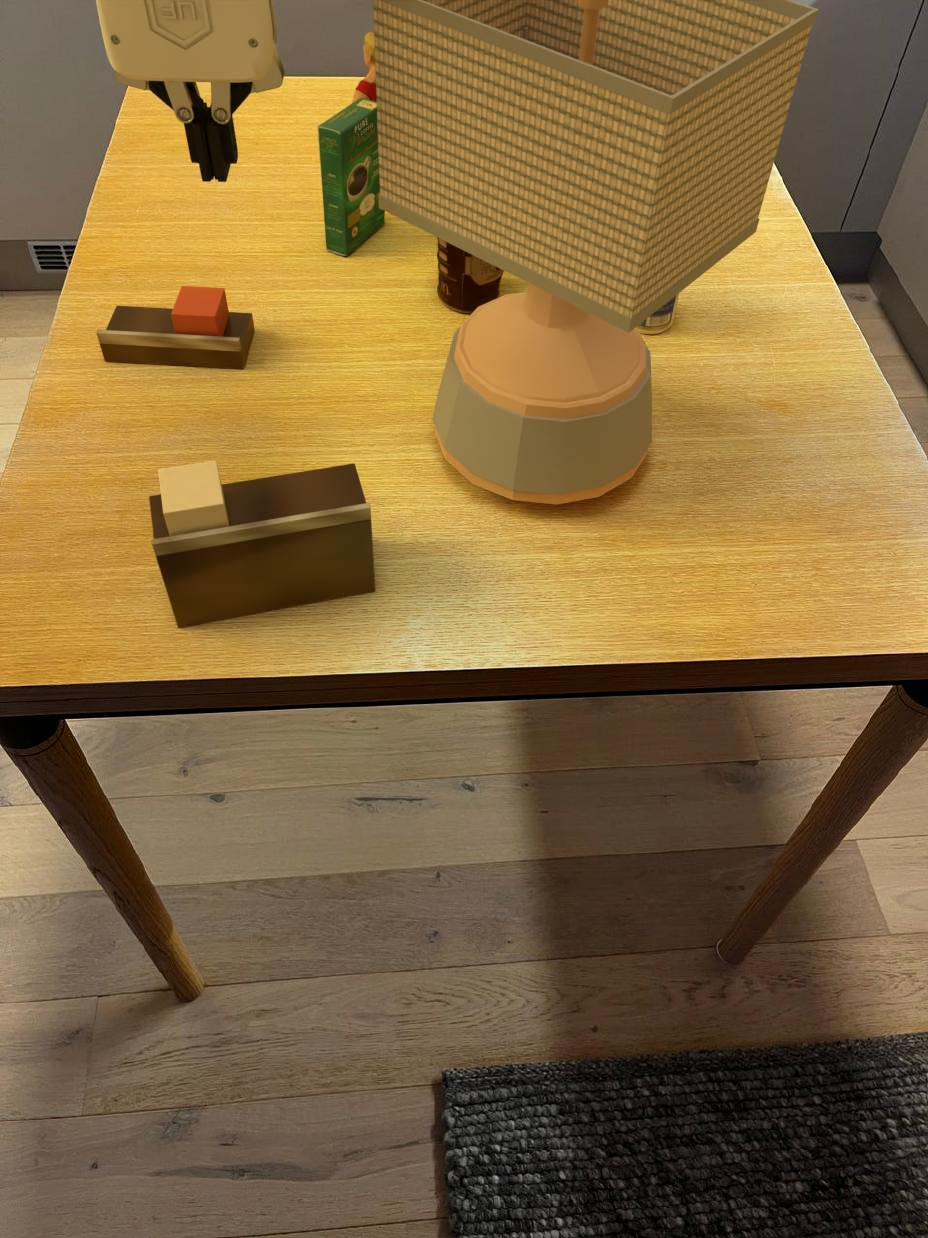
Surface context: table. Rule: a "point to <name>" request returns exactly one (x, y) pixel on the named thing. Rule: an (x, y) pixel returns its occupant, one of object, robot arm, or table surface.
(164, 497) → the tan block
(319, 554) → the counter front
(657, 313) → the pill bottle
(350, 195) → the coffee box
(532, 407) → the desk lamp
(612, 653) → the table surface
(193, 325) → the red cube block
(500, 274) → the coffee cup
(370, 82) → the action figure
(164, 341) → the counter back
